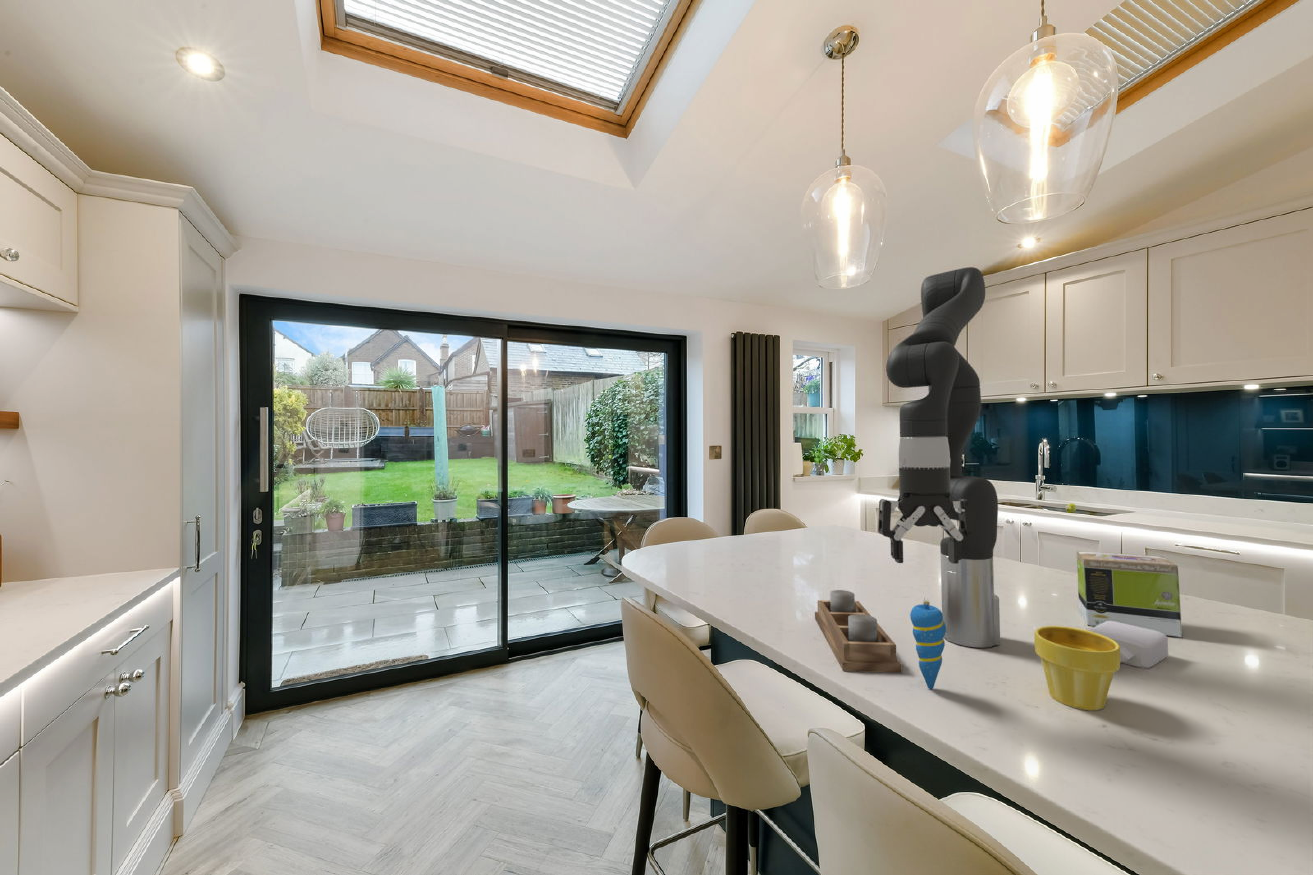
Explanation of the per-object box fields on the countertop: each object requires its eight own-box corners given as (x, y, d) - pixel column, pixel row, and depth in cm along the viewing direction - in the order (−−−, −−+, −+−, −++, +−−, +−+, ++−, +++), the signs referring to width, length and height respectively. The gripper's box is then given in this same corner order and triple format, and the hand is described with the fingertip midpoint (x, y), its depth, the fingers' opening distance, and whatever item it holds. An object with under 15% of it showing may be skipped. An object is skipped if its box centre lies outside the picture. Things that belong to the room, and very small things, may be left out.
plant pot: (1130, 725, 72) (1128, 656, 72) (1039, 706, 78) (1037, 642, 78) (1113, 693, 81) (1111, 632, 81) (1032, 679, 87) (1031, 621, 87)
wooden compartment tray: (859, 619, 117) (859, 586, 117) (901, 672, 90) (900, 630, 90) (814, 618, 118) (814, 585, 118) (842, 670, 91) (841, 628, 91)
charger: (1071, 660, 94) (1104, 642, 102) (1137, 680, 86) (1168, 659, 94) (1070, 634, 94) (1104, 618, 102) (1136, 652, 86) (1167, 633, 94)
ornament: (934, 699, 81) (931, 604, 81) (905, 685, 85) (902, 595, 85) (954, 691, 83) (951, 599, 83) (925, 678, 88) (922, 591, 88)
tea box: (1167, 623, 111) (1165, 555, 111) (1182, 639, 102) (1180, 565, 102) (1077, 612, 119) (1076, 548, 119) (1085, 626, 110) (1083, 557, 110)
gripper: (959, 463, 87) (961, 558, 87) (872, 463, 89) (874, 556, 89) (981, 465, 80) (983, 568, 80) (886, 466, 82) (888, 567, 82)
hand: (925, 562), depth 84 cm, fingers open, 8 cm apart
